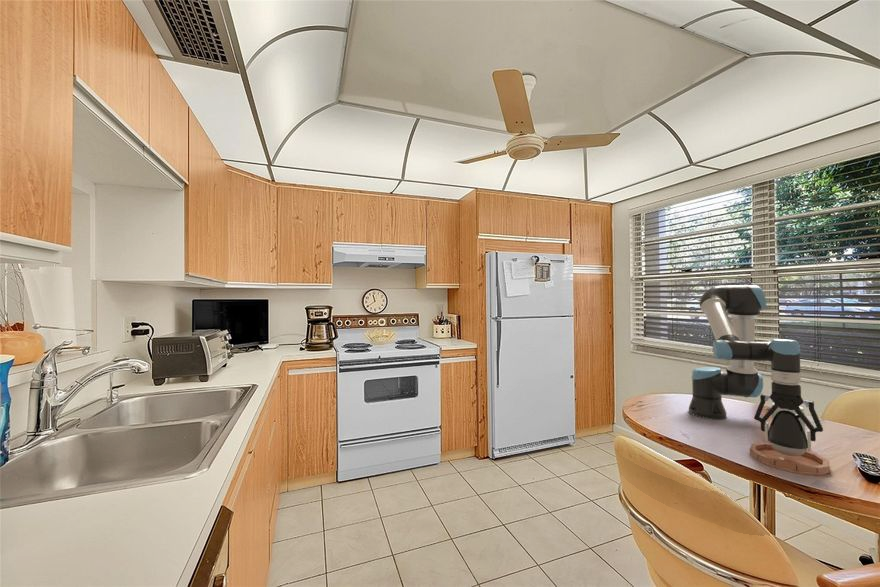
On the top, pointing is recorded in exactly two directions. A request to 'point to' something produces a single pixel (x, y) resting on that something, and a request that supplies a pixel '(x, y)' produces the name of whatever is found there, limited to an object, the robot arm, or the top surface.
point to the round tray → (790, 460)
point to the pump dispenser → (787, 434)
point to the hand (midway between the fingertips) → (787, 445)
